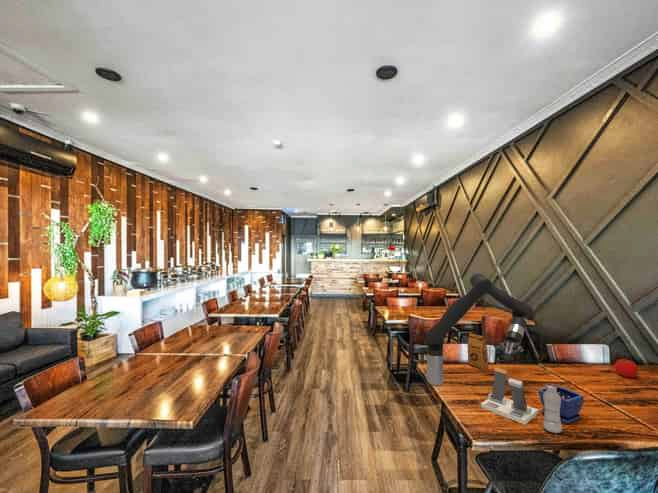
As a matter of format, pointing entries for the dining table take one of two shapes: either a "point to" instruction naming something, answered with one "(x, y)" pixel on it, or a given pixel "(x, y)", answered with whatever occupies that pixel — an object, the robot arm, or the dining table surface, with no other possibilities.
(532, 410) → the switch unit
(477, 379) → the dining table surface
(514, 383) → the lever grey
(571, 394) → the flower pot
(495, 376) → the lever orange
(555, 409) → the plastic bottle
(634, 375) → the tomato
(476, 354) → the coffee package
